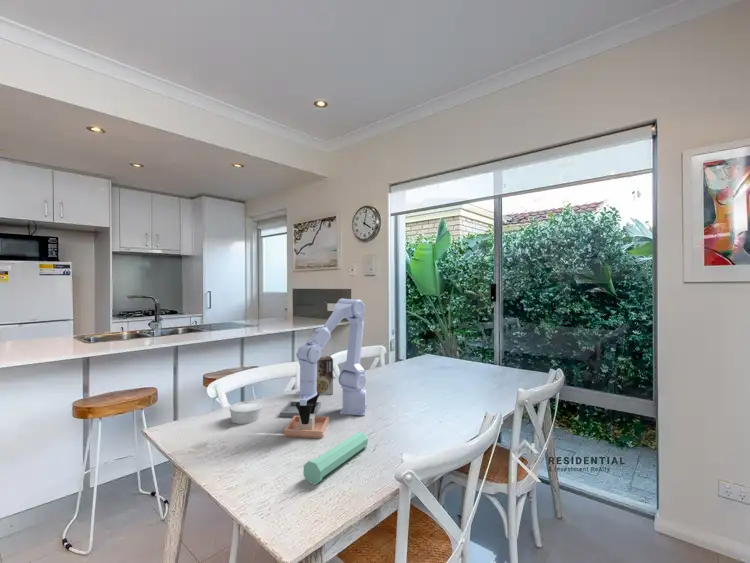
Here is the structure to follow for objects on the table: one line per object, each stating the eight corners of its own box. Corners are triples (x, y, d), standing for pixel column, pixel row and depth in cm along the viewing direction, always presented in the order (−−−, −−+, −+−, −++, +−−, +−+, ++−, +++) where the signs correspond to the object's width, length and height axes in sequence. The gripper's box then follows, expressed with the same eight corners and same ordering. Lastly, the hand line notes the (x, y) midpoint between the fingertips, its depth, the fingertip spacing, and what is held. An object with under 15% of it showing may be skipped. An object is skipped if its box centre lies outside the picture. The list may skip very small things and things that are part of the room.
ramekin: (253, 412, 139) (253, 398, 139) (267, 420, 131) (268, 406, 131) (224, 420, 131) (224, 405, 131) (237, 429, 123) (237, 414, 123)
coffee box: (330, 390, 168) (330, 355, 168) (333, 394, 162) (333, 358, 161) (310, 392, 165) (310, 356, 165) (312, 396, 159) (313, 359, 159)
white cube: (315, 425, 126) (315, 413, 126) (312, 430, 122) (312, 418, 122) (302, 424, 126) (302, 413, 126) (299, 430, 122) (299, 418, 122)
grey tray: (320, 407, 145) (321, 402, 145) (314, 419, 133) (314, 413, 133) (289, 406, 146) (290, 400, 146) (280, 418, 133) (280, 412, 133)
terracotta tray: (329, 422, 130) (329, 416, 130) (322, 438, 117) (322, 431, 117) (294, 421, 131) (294, 415, 131) (283, 436, 118) (283, 430, 118)
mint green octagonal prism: (359, 424, 114) (307, 456, 93) (374, 435, 112) (324, 471, 90) (353, 440, 115) (300, 475, 94) (367, 451, 113) (316, 490, 91)
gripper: (302, 373, 131) (301, 411, 132) (290, 385, 117) (290, 427, 117) (321, 374, 131) (320, 411, 131) (312, 386, 117) (311, 428, 117)
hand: (307, 419), depth 124 cm, fingers open, 7 cm apart
